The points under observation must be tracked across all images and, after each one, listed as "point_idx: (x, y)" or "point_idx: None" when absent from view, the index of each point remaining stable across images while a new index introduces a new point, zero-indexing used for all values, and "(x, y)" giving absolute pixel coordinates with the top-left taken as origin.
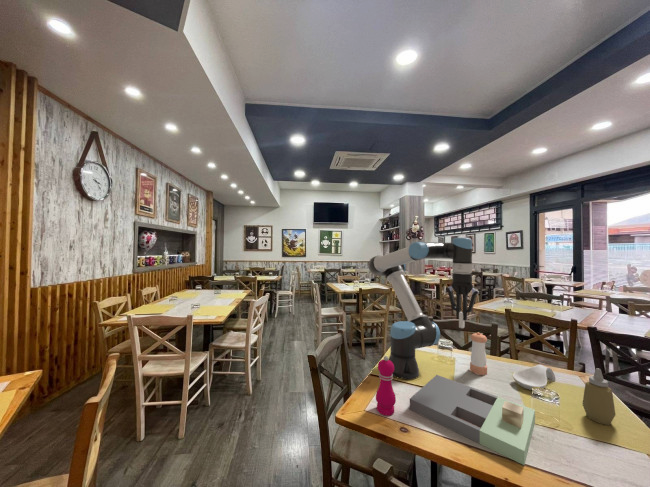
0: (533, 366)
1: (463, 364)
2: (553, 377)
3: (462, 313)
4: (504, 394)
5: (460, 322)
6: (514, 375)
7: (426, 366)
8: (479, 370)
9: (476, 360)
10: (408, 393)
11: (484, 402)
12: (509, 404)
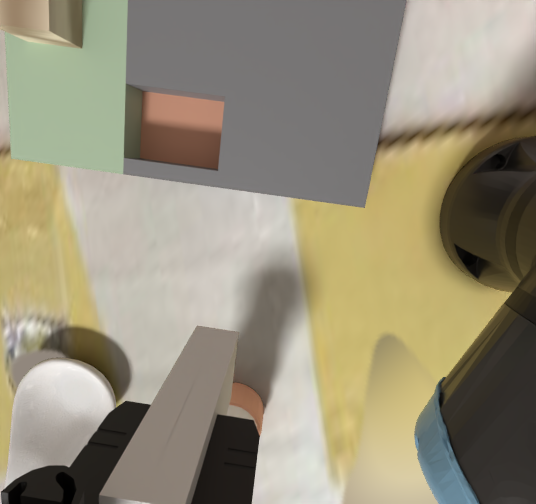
0: None
1: (292, 437)
2: None
3: (110, 489)
4: (136, 281)
5: (205, 366)
6: (110, 411)
7: (424, 333)
8: None
9: None
10: (448, 34)
11: (154, 84)
12: (29, 6)
